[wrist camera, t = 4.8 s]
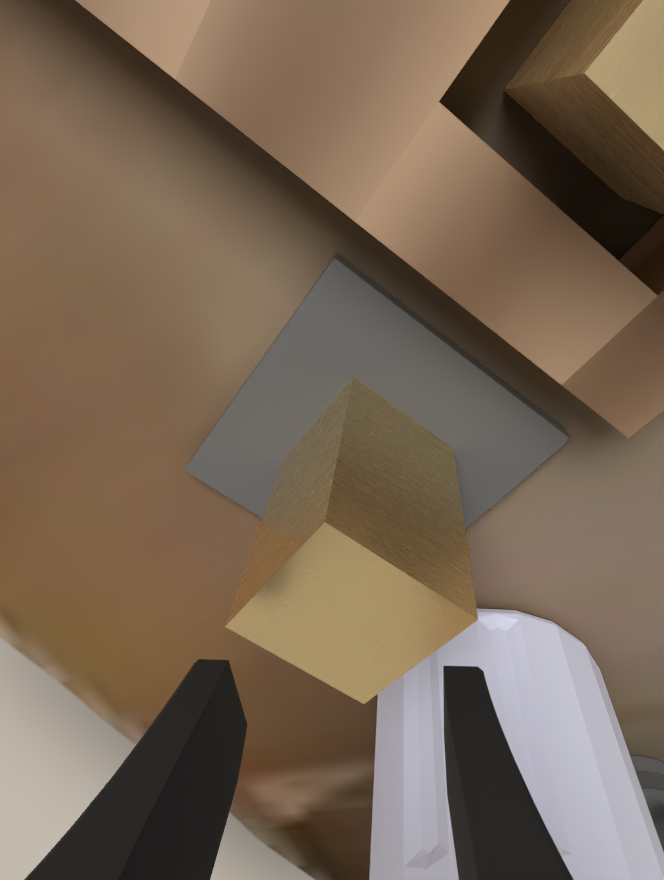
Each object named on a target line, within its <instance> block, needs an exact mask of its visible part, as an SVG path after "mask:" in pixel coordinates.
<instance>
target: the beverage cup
mask: <svg viewBox="0 0 664 880" xmlns="http://www.w3.org/2000/svg"><path fill="white" fill-rule="evenodd" d="M630 757H631V760H632V763H633V766H634V769H635V772H636V775H637V777H638V780H639V783H640V786H641V789H642V792H643V795H644V797H645V800H646V803H647V806H648V809H649V812H650V815H651V817H652V820H653V823H654V826H655V829H656V832H657V835H658V837H659V840H660V843H661V846H662V849H663V852H664V762H661V761H659V760H656V759H654V758H649V757H643V756H630Z"/></svg>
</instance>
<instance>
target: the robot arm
mask: <svg viewBox="0 0 664 880" xmlns="http://www.w3.org/2000/svg"><path fill="white" fill-rule="evenodd" d="M443 689H444V746H445V764H446V782H447V797H448V804H449V811H450V819H451V826H452V833H453V841H454V848H455V855H456V862H457V870H458V877H459V880H574V879H573V878H572V876H571V874H570V872H569V870H568V868H567V866H566V865H565V863H564V861H563V859H562V857H561V855H560V853H559V851H558V849H557V847H556V845H555V843H554V841H553V839H552V837H551V835H550V834H549V832H548V830H547V828H546V826H545V824H544V821H543V819H542V817H541V815H540V813H539V811H538V809H537V807H536V805H535V803H534V801H533V799H532V796H531V794H530V792H529V790H528V788H527V786H526V783H525V781H524V779H523V777H522V775H521V772H520V770H519V768H518V766H517V764H516V761H515V759H514V757H513V754H512V752H511V750H510V747H509V745H508V742H507V740H506V737H505V735H504V732H503V730H502V727H501V725H500V722H499V719H498V717H497V714H496V711H495V708H494V705H493V702H492V699H491V696H490V693H489V690H488V687H487V683H486V679H485V675H484V671H483V670H481V669H480V668H479V667H477V666H443ZM246 729H247V722H246V719H245V715H244V712H243V709H242V705H241V702H240V698H239V695H238V691H237V688H236V685H235V681H234V678H233V674H232V671H231V667H230V664H229V660H203V659H199V660H197V661H196V662H195V663H194V665H193V666H192V668H191V669H190V670H189V672H188V673H187V675H186V676H185V678H184V679H183V681H182V682H181V684H180V685H179V686H178V688H177V689H176V691H175V692H174V694H173V695H172V697H171V698H170V699H169V701H168V702H167V704H166V705H165V707H164V708H163V709H162V711H161V712H160V714H159V715H158V716H157V718H156V719H155V721H154V722H153V723H152V725H151V726H150V727H149V729H148V730H147V732H146V733H145V734H144V736H143V737H142V738H141V740H140V741H139V742H138V744H137V745H136V746H135V748H134V749H133V750H132V752H131V753H130V754H129V756H128V757H127V758H126V760H125V761H124V762H123V764H122V765H121V766H120V768H119V769H118V770H117V771H116V773H115V774H114V775H113V777H112V778H111V779H110V780H109V782H108V783H107V784H106V785H105V787H104V788H103V789H102V790H101V792H100V793H99V794H98V795H97V796H96V798H95V799H94V800H93V801H92V802H91V804H90V805H89V806H88V807H87V809H86V810H85V811H84V812H83V813H82V815H81V816H80V818H78V820H77V821H76V822H75V823H74V824H73V826H72V827H71V828H70V829H69V830H68V831H67V833H66V834H65V835H64V836H63V837H62V838H61V840H60V841H59V842H58V843H57V844H56V845H55V846H54V848H53V849H52V850H51V851H50V852H49V853H48V854H47V855H46V857H45V858H44V859H43V860H42V861H41V862H40V863H39V864H38V865H37V867H36V868H35V869H34V870H33V871H32V872H31V873H30V874H29V875H28V876H27V877H26V879H25V880H210V877H211V874H212V870H213V867H214V863H215V860H216V856H217V853H218V849H219V846H220V842H221V839H222V835H223V832H224V828H225V825H226V821H227V818H228V814H229V810H230V807H231V803H232V800H233V796H234V792H235V789H236V785H237V781H238V776H239V770H240V765H241V759H242V754H243V748H244V742H245V735H246Z"/></svg>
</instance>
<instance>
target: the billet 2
mask: <svg viewBox="0 0 664 880" xmlns="http://www.w3.org/2000/svg"><path fill="white" fill-rule="evenodd" d="M504 91H506V92H507V93H508V94H509V95H510V96H511V97H512V98H513V99H514V100H515V101H516V102H517V103H519V104H520V105H521V106H522V107H523V108H524V109H525V110H526V111H527V112H528V113H529V114H530V115H532V116H533V117H534V118H535V119H536V120H537V121H538V122H539V123H540V124H541V125H542V126H543V127H545V128H546V129H547V130H548V131H549V132H550V133H551V134H552V135H553V136H554V137H555V138H556V139H558V140H559V141H560V142H561V143H562V144H563V145H564V146H565V147H566V148H567V149H568V150H569V151H571V152H572V153H573V154H574V155H575V156H576V157H577V158H578V159H579V160H580V161H581V162H582V163H584V164H585V165H586V166H587V167H588V168H589V169H590V170H591V171H592V172H593V173H594V174H595V175H597V176H598V177H599V178H600V179H601V180H602V181H603V182H604V183H605V184H606V185H607V186H608V187H610V188H611V189H612V190H613V191H614V192H615V193H616V194H617V195H618V196H619V197H622V198H624V199H627V200H629V201H632V202H634V203H637V204H639V205H642V206H644V207H647V208H649V209H652V210H654V211H657V212H659V213H662V214H664V0H571V1H570V2H569V4H568V5H567V6H566V8H565V9H564V10H563V12H562V13H561V14H560V16H559V17H558V18H557V20H556V21H555V22H554V24H553V25H552V26H551V27H550V29H549V30H548V31H547V33H546V34H545V35H544V37H543V38H542V39H541V41H540V42H539V43H538V45H537V46H536V47H535V49H534V50H533V51H532V53H531V54H530V55H529V57H528V58H527V59H526V61H525V62H524V63H523V65H522V66H521V67H520V69H519V70H518V71H517V73H516V74H515V75H514V77H513V78H512V79H511V81H510V82H509V83H508V85H507V86H506V87H505V89H504Z"/></svg>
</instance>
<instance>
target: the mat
mask: <svg viewBox="0 0 664 880" xmlns="http://www.w3.org/2000/svg"><path fill="white" fill-rule="evenodd" d="M352 377H354V378H356V379H357V380H358V381H360V382H361V383H363V384H364V385H365V386H367V387H368V388H370V389H371V390H372V391H374V392H375V393H377V394H378V395H379V396H381V397H382V398H384V399H385V400H386V401H388V402H389V403H391V404H392V405H393V406H395V407H396V408H398V409H399V410H400V411H402V412H403V413H405V414H406V415H407V416H409V417H410V418H412V419H413V420H414V421H416V422H417V423H419V424H420V425H421V426H423V427H424V428H426V429H427V430H428V431H430V432H431V433H433V434H434V435H435V436H437V437H438V438H440V439H441V440H442V441H444V442H445V443H447V444H448V445H449V446H451V447H452V448H453V449H454V456H455V463H456V470H457V477H458V484H459V490H460V497H461V504H462V511H463V518H464V525H465V529H466V528H468V527H469V526H470V525H471V524H472V523H473V522H475V521H476V520H477V519H478V518H479V517H480V516H481V515H483V514H484V513H485V512H486V511H487V510H488V509H490V508H491V507H492V506H493V505H494V504H495V503H497V502H498V501H499V500H500V499H501V498H502V497H504V496H505V495H506V494H507V493H508V492H509V491H511V490H512V489H513V488H514V487H515V486H516V485H518V484H519V483H520V482H521V481H522V480H523V479H525V478H526V477H527V476H528V475H529V474H530V473H532V472H533V471H534V470H535V469H536V468H537V467H538V466H540V465H541V464H542V463H543V462H544V461H545V460H547V459H548V458H549V457H550V456H551V455H552V454H554V453H555V452H556V451H557V450H558V449H559V448H561V447H562V446H563V445H564V444H565V443H566V442H568V441H569V440H570V437H569V435H568V433H567V431H566V429H565V428H563V427H562V426H561V425H559V424H558V423H557V422H555V421H554V420H553V419H552V418H550V417H549V416H548V415H546V414H545V413H544V412H542V411H541V410H540V409H539V408H537V407H536V406H535V405H533V404H532V403H531V402H529V401H528V400H527V399H526V398H524V397H523V396H522V395H520V394H519V393H518V392H516V391H515V390H514V389H513V388H511V387H510V386H509V385H507V384H506V383H505V382H503V381H502V380H501V379H500V378H498V377H497V376H496V375H494V374H493V373H492V372H490V371H489V370H488V369H487V368H485V367H484V366H483V365H481V364H480V363H479V362H477V361H476V360H475V359H474V358H472V357H471V356H470V355H468V354H467V353H466V352H464V351H463V350H462V349H461V348H459V347H458V346H457V345H455V344H454V343H453V342H451V341H450V340H449V339H448V338H446V337H445V336H444V335H442V334H441V333H440V332H438V331H437V330H436V329H435V328H433V327H432V326H431V325H429V324H428V323H427V322H425V321H424V320H423V319H422V318H420V317H419V316H418V315H416V314H415V313H414V312H412V311H411V310H410V309H409V308H407V307H406V306H405V305H403V304H402V303H401V302H399V301H398V300H397V299H396V298H394V297H393V296H392V295H390V294H389V293H388V292H386V291H385V290H384V289H383V288H381V287H380V286H379V285H377V284H376V283H375V282H373V281H372V280H371V279H370V278H368V277H367V276H366V275H364V274H363V273H362V272H360V271H359V270H358V269H357V268H355V267H354V266H353V265H351V264H350V263H349V262H347V261H346V260H345V259H344V258H342V257H341V256H340V255H338V254H337V253H336V255H335V256H334V257H333V259H332V260H331V262H330V263H329V265H328V266H327V267H326V269H325V270H324V272H323V273H322V274H321V276H320V277H319V279H318V280H317V282H316V283H315V284H314V286H313V287H312V289H311V290H310V291H309V293H308V294H307V296H306V297H305V299H304V300H303V301H302V303H301V304H300V306H299V307H298V308H297V310H296V311H295V313H294V314H293V316H292V317H291V318H290V320H289V321H288V323H287V324H286V325H285V327H284V328H283V330H282V331H281V333H280V334H279V335H278V337H277V338H276V340H275V341H274V342H273V344H272V345H271V347H270V348H269V349H268V351H267V352H266V354H265V355H264V357H263V358H262V359H261V361H260V362H259V364H258V365H257V366H256V368H255V369H254V371H253V372H252V374H251V375H250V376H249V378H248V379H247V381H246V382H245V383H244V385H243V386H242V388H241V389H240V391H239V392H238V393H237V395H236V396H235V398H234V399H233V400H232V402H231V403H230V405H229V406H228V408H227V409H226V410H225V412H224V413H223V415H222V416H221V417H220V419H219V420H218V422H217V423H216V425H215V426H214V427H213V429H212V430H211V432H210V433H209V434H208V436H207V437H206V439H205V440H204V441H203V443H202V444H201V446H200V447H199V449H198V450H197V451H196V453H195V454H194V456H193V457H192V458H191V460H190V461H189V463H188V465H187V466H186V468H185V470H184V471H186V472H188V473H189V474H191V475H193V476H194V477H196V478H197V479H199V480H201V481H202V482H204V483H205V484H207V485H209V486H210V487H212V488H214V489H215V490H217V491H218V492H220V493H222V494H223V495H225V496H226V497H228V498H230V499H231V500H233V501H235V502H236V503H238V504H239V505H241V506H243V507H244V508H246V509H247V510H249V511H251V512H252V513H254V514H256V515H257V516H259V517H260V518H262V519H263V516H264V513H265V510H266V507H267V504H268V502H269V499H270V496H271V493H272V490H273V487H274V484H275V481H276V479H277V476H278V473H279V470H280V467H281V464H282V462H283V461H284V459H285V458H286V457H287V456H288V455H289V453H290V452H291V451H292V450H293V449H294V447H295V446H296V445H297V444H298V443H299V441H300V440H301V439H302V438H303V436H304V435H305V434H306V433H307V432H308V430H309V429H310V428H311V427H312V426H313V424H314V423H315V422H316V421H317V420H318V418H319V417H320V416H321V415H322V413H323V412H324V411H325V410H326V409H327V407H328V406H329V405H330V404H331V403H332V401H333V400H334V399H335V398H336V397H337V395H338V394H339V393H340V392H341V391H342V389H343V388H344V387H345V386H346V384H347V383H348V382H349V381H350V380H351V378H352Z"/></svg>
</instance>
